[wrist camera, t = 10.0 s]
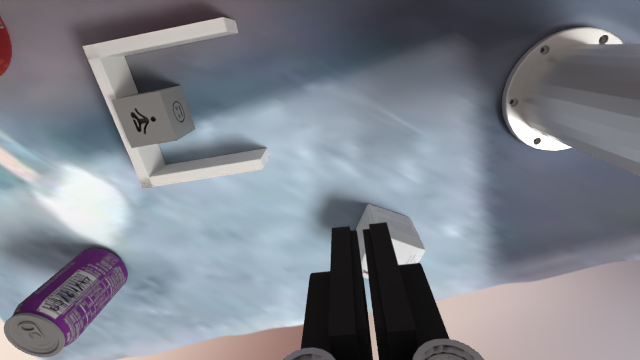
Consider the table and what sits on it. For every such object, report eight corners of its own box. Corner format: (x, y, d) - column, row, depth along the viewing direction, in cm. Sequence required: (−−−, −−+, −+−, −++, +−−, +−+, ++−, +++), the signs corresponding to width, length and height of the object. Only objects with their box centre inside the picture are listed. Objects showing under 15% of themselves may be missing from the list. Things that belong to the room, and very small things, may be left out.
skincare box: (391, 253, 43) (402, 291, 36) (349, 239, 43) (353, 276, 36) (411, 216, 41) (427, 250, 34) (367, 201, 40) (375, 233, 34)
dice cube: (139, 92, 36) (111, 99, 31) (181, 85, 35) (159, 90, 31) (155, 135, 38) (131, 148, 33) (195, 128, 37) (176, 140, 33)
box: (235, 20, 33) (223, 17, 29) (269, 157, 38) (263, 169, 35) (109, 46, 34) (82, 46, 30) (160, 175, 40) (143, 188, 36)
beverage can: (70, 250, 44) (-16, 317, 33) (116, 241, 44) (44, 307, 33) (95, 289, 47) (23, 364, 36) (139, 281, 46) (79, 355, 35)
